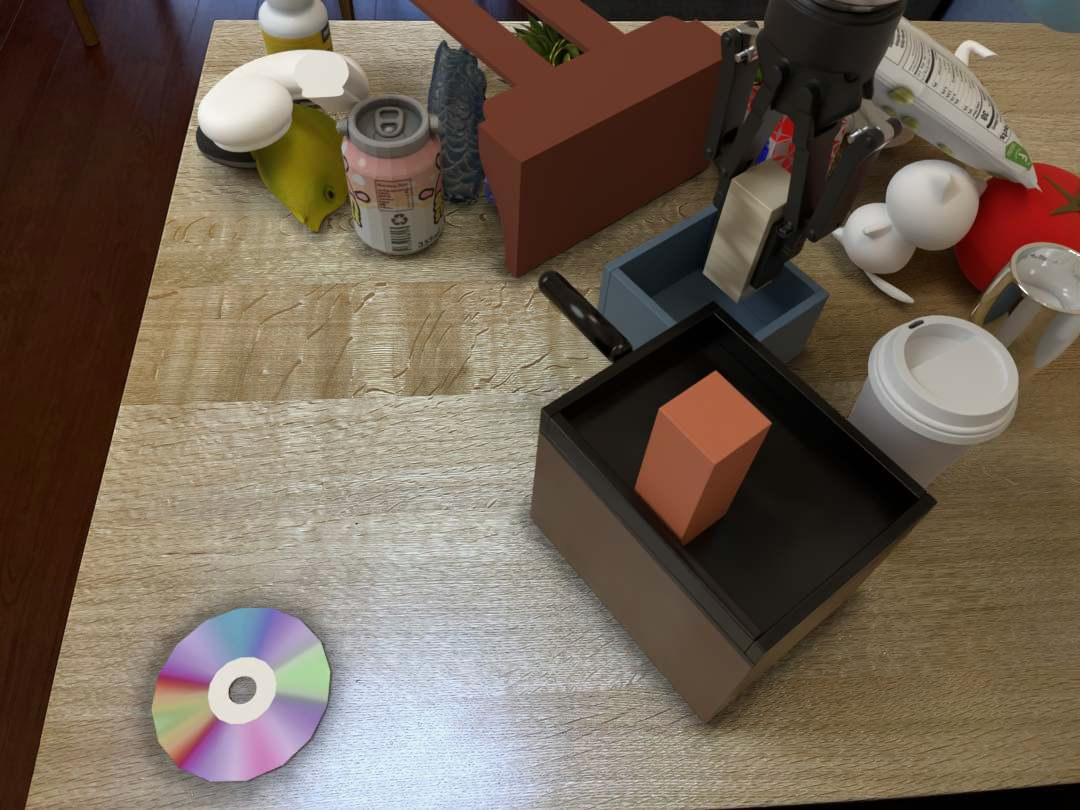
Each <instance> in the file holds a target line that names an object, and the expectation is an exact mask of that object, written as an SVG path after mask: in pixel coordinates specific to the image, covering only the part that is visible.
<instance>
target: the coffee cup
mask: <svg viewBox="0 0 1080 810" xmlns="http://www.w3.org/2000/svg"><path fill="white" fill-rule="evenodd" d="M867 373H868V375H867V377H866V379H865V381H864V384H863V386H862V389H861V391H860V392H859V395H858V397H857V399H856V401H855V403H854V405H853V407H852V410H851V412H850V414H849V416H848V418H847V420H848V421H849V422H850V423H851V424H853V425H854V426H855V427H856V428H857V429H858V430H859V431H860V432H861V433H863V434H864V435H865V436H866V437H867V438H868V439H869V440H870V441H872V442H873V443H874V444H875V445H876V446H877V447H878V448H879V449H880V450H882V451H883V452H884V453H885V454H886V455H887V456H888V457H889V458H891V459H892V460H893V461H894V462H895V463H896V464H897V465H898V466H900V467H901V468H902V469H903V470H904V471H905V472H906V473H907V474H908V475H910V476H911V477H912V478H913V479H914V480H915V481H916V482H917V483H919V484H920V485H921V486H922V487H923V488H924V489H926V488H927V487H928V486H929V485H930V484H931V483H932V482H934V481H935V480H936V479H937V478H939V476H941V475H942V474H943V473H944V472H945V471H946V470H948V469H949V468H950V467H951V466H952V465H954V464H955V463H956V462H957V461H958V460H959V459H961V458H962V457H963V456H964V455H965V454H967V452H969V451H971V450H972V448H974V447H975V446H976V445H977V444H981V443H985V442H987V441H990V440H992V439H994V438H996V437H998V436H999V435H1000V434H1002V433H1003V432H1004V431H1005V430H1006V429H1007V428H1008V427H1009V425H1010V424H1011V423H1012V421H1013V418H1014V416H1015V413H1016V411H1017V407H1018V401H1019V386H1018V383H1019V378H1018V371H1017V368H1016V365H1015V362H1014V360H1013V358H1012V357H1011V355H1010V353H1009V352H1008V351H1007V349H1006V348H1005V347H1004V346H1003V345H1002V343H1001V342H1000V341H999V340H997V339H996V338H995V337H994V336H993V335H991V334H990V333H989V332H987V331H986V330H984V329H983V328H981V327H979V326H977V325H975V324H973V323H971V322H968V321H967V319H966V320H965V319H962V318H959V317H955V316H950V315H941V314H937V315H935V314H934V315H933V314H932V315H926V316H921V317H918V318H915V319H912V320H911V321H909V322H905V323H902V324H900V325H898V326H896V327H894V328H893V329H891V330H889V331H888V332H887V333H886V334H884V335H883V336H882V337H880V339H878V340H877V342H876V343H875V344H874V346H873V347H872V349H871V351H870V353H869V357H868V362H867Z"/></svg>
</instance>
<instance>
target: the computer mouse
mask: <svg viewBox="0 0 1080 810" xmlns="http://www.w3.org/2000/svg"><path fill="white" fill-rule="evenodd" d="M292 102H293V103H294V104H300V99H298V100H293V101H292ZM195 141H196V145H197V149H198V151H199V152H200V153H201V154H202V156H203V157H204V158H205V159H207V160H209V161H211V162H213V163H216V164H218V165H221V166H224V167H227V168H231V169H235V170H241V171H247V172H248V171H252V172H253V171H258V169H257V166H256V160H255V159H254V158H253V157H252V155H251V153H250V151H248V152H232V151H227V150H224V149H222V148H220V147H219V146H217V145H216V144H215V143H214V141H213V140H211V139H210V138H208V137H207V136H206V135H205V134H204V133H203V131H202V130H201V128H200V126H199V125H198V126H197V129H196V132H195Z"/></svg>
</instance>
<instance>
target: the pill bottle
mask: <svg viewBox="0 0 1080 810" xmlns="http://www.w3.org/2000/svg"><path fill="white" fill-rule="evenodd" d="M257 16H258V17H257V18H258V23H259V27H260V31H261V37H262V40H263V44H264V49H265V53H266V56H268V55H272V54H276V53H281V52H286V51H294V50H324V51H331V52H334V47H333V40H332V32H331V28H330V26H331V25H330V19H329V15H328V10H327V8H326V6H325V4H324V2H323V1H322V0H264V2H263V3H262V4H261V5H260V6H259V10H258V15H257ZM300 105H304V106H308V107H310V106H314V105H317V104H316V103H314V102H312V101H311V100H309V99H300Z"/></svg>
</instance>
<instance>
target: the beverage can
mask: <svg viewBox="0 0 1080 810" xmlns="http://www.w3.org/2000/svg"><path fill="white" fill-rule="evenodd" d="M336 123H337V126H336V128H337V131H338V132H339V133H340V136H344V138H343V142H342V146H341V148H342V154H343V160H344V166H345V172H346V178H347V184H348V190H349V194H348V196H349V200H350V208H351V213H352V219H353V225H354V229H355V232H356V233H357V235H358V236H359V238H360V239H361V241H362V242H363V243H364V244H365V245H366V246H368V247H370V248H371V249H372V250H375V251H377V252H381V253H383V254H387V255H393V256H405V255H412V254H415V253H417V252H420V251H423V250H425V249H426V248H428V247H429V246H431V245H432V244H433V243H434V242H436V241H437V239H438V238H439V236H440V235H441V234H442V231H443V229H444V225H445V220H446V216H445V200H444V192H443V171H442V151H441V142H440V139H439V136H438V134H439V130H440V129H441V127H442V124H441V121H440V120H439V119H438V117H437V116H435V115H433V114H429V112H428V108H427V107H425V105H424V104H423V103H422V102H420V101H418V100H416V99H415V98H414V97H410V96H407V95H404V94H400V93H399V94H397V93H382V94H374V95H372V96H368V98H366V99H364V100H362V101H360V102H359V103H357V104H356V105H355V106H354V107H353V108H352V109H351V111H350V112H348V115H347V116H345V117H343V118H339V119H338V122H336Z"/></svg>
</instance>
